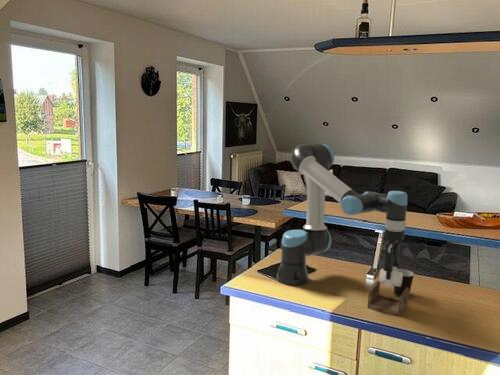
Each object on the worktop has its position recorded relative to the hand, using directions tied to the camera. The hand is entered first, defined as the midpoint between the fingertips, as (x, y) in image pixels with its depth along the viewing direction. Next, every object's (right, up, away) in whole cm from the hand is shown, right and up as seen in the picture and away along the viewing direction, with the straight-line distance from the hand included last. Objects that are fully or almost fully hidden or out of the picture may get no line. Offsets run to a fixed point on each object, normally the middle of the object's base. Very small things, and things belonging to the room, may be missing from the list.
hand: (390, 283), depth 173 cm
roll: (0, 0, -1) cm, 1 cm away
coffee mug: (+11, -8, +17) cm, 22 cm away
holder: (0, -10, +2) cm, 10 cm away
